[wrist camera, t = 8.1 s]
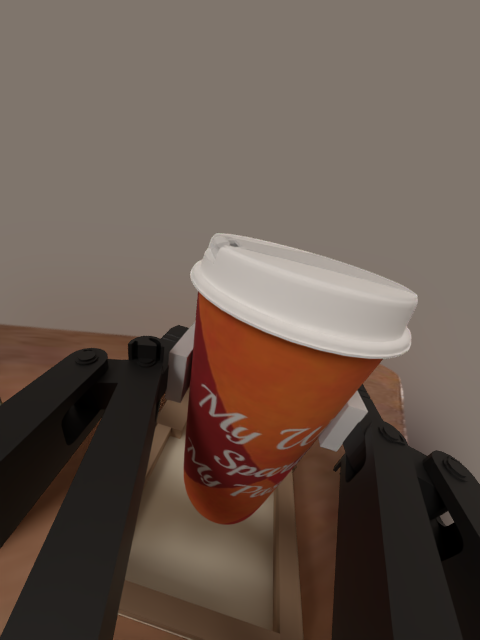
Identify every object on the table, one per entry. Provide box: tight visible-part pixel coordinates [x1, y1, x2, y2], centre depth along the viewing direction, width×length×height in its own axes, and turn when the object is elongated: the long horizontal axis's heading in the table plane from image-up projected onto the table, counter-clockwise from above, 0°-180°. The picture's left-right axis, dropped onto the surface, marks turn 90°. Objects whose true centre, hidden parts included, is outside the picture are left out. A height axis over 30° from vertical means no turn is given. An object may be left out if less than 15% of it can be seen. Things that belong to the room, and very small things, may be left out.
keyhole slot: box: [118, 386, 304, 640], centre depth 23 cm, size 24×16×2 cm, turn 170°
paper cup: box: [184, 233, 418, 525], centre depth 10 cm, size 8×8×14 cm
